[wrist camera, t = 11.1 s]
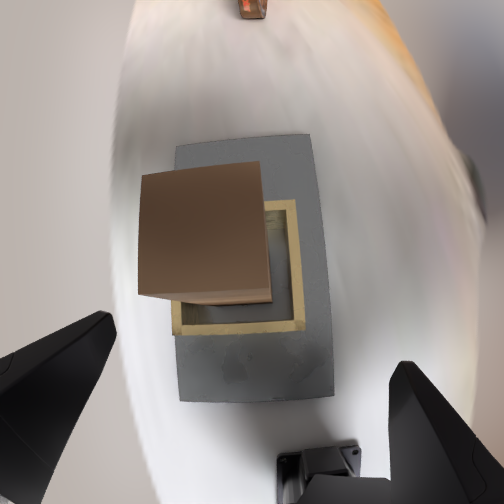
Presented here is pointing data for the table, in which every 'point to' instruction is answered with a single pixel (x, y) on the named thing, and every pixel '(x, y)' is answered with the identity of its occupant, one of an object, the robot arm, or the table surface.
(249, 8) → the tin
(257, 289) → the brown square block
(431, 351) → the table surface
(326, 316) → the base plate
